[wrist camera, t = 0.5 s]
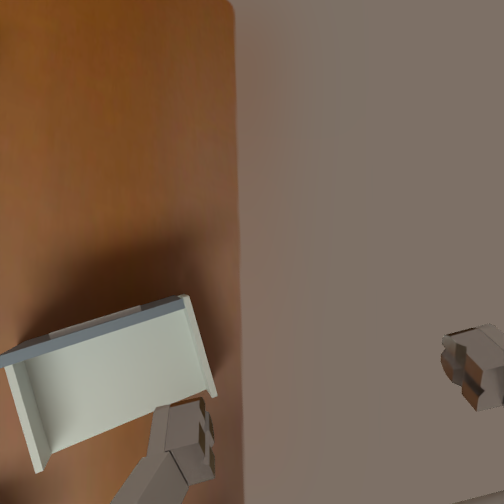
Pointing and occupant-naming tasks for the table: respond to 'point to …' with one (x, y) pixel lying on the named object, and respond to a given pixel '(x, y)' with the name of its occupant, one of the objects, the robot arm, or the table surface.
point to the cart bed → (108, 381)
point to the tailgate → (90, 330)
